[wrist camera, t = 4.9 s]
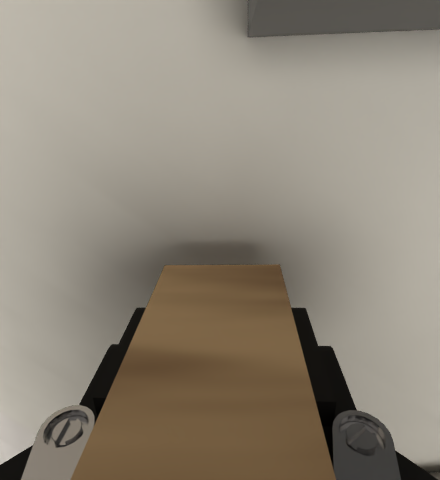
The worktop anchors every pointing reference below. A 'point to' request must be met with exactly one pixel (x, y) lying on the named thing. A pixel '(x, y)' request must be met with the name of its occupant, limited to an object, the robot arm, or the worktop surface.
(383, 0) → the socket
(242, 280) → the peg
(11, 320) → the worktop surface
